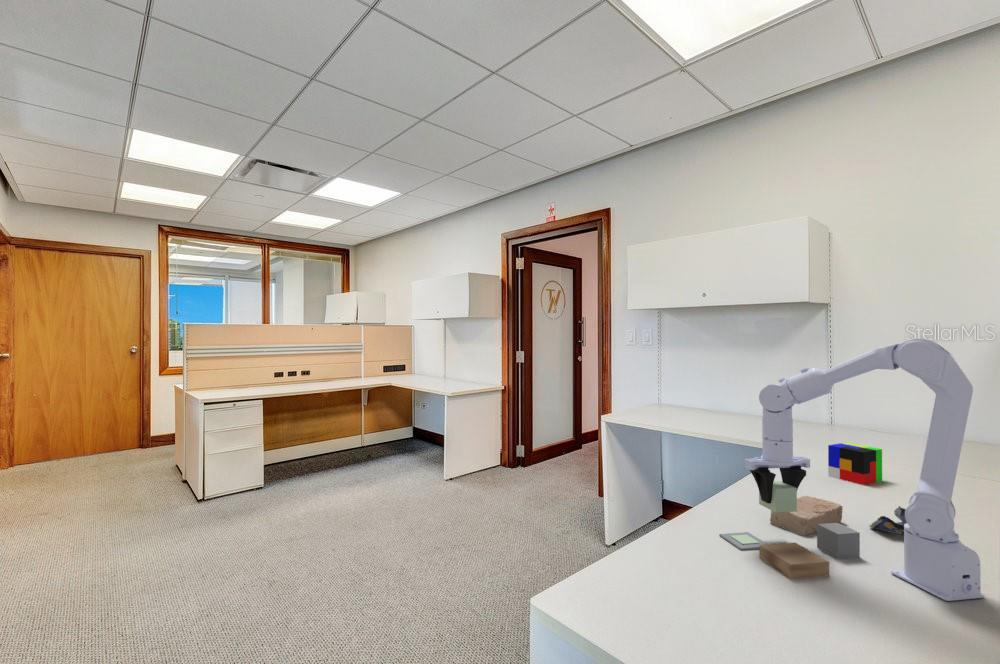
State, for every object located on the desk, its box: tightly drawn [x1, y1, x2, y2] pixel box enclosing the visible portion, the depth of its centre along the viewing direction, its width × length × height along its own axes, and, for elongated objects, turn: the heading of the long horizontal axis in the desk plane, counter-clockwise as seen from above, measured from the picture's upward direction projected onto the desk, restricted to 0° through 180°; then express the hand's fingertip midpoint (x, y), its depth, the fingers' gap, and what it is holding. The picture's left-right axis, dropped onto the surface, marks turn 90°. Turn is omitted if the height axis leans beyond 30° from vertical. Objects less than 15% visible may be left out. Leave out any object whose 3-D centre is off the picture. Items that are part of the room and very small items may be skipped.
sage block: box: [758, 480, 798, 513], centre depth 100 cm, size 5×5×5 cm
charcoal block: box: [816, 522, 861, 560], centre depth 94 cm, size 5×5×5 cm
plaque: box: [719, 531, 768, 551], centre depth 98 cm, size 7×7×1 cm
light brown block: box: [759, 542, 830, 580], centre depth 88 cm, size 8×8×3 cm
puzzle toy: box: [827, 442, 883, 486], centre depth 144 cm, size 10×10×10 cm
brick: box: [769, 495, 844, 536], centre depth 109 cm, size 17×8×5 cm, turn 119°
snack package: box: [868, 505, 907, 536], centre depth 103 cm, size 12×7×12 cm
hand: (777, 501), depth 100 cm, fingers closed on sage block, 5 cm apart
